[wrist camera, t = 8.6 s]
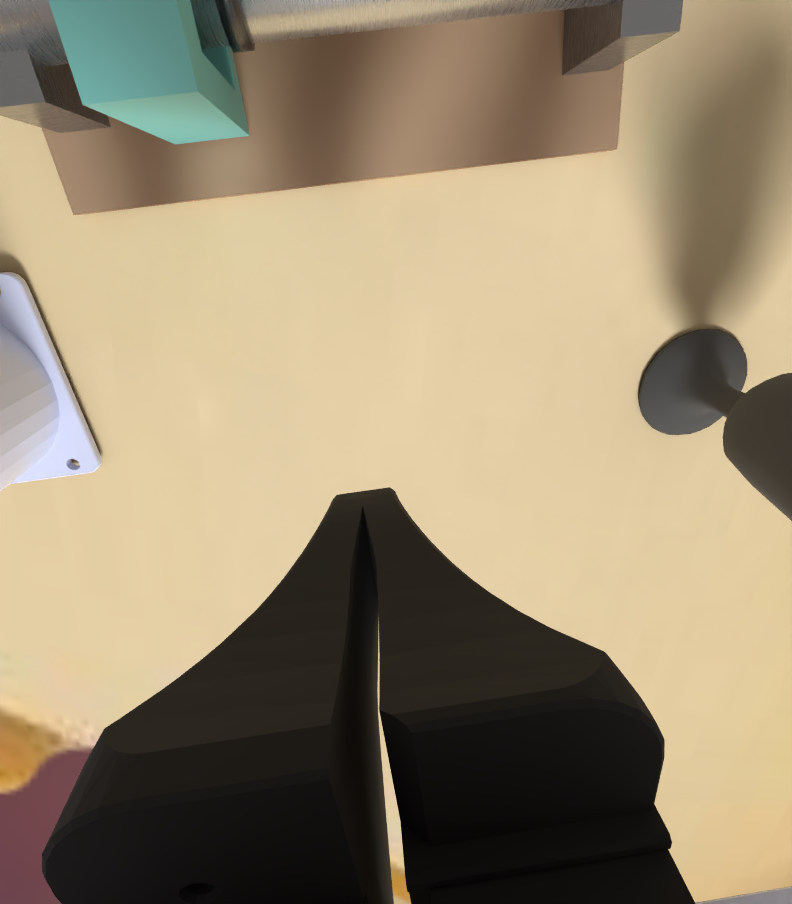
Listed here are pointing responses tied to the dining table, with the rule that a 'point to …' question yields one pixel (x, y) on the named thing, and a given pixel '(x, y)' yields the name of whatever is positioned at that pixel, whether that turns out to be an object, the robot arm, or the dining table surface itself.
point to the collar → (151, 68)
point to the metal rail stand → (301, 16)
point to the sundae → (724, 407)
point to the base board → (362, 115)
